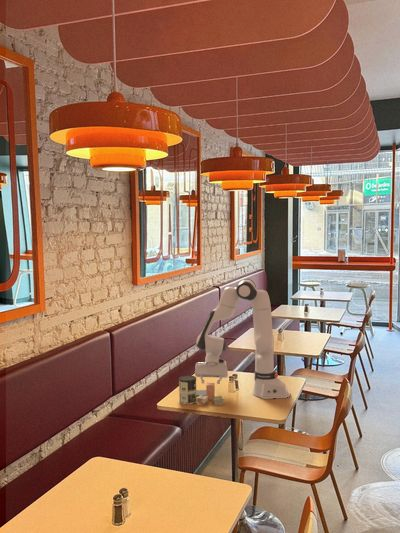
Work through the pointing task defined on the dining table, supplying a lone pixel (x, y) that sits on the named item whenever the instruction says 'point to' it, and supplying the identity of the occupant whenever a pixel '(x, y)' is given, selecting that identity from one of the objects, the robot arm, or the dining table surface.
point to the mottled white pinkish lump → (202, 400)
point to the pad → (200, 392)
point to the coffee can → (187, 389)
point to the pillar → (210, 390)
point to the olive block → (218, 400)
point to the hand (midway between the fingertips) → (210, 383)
